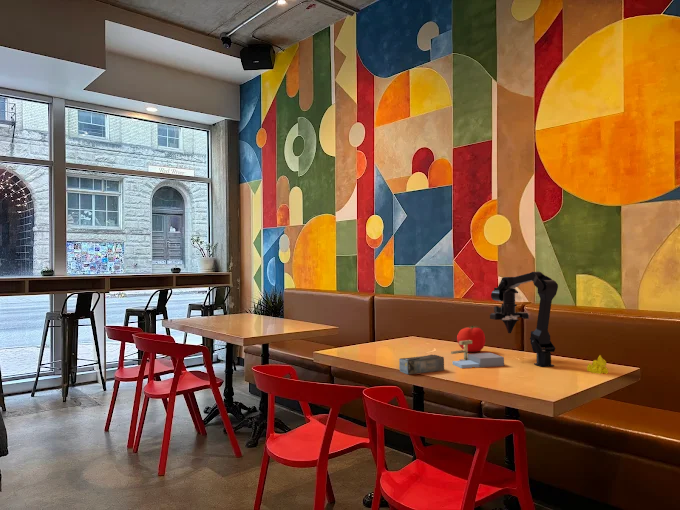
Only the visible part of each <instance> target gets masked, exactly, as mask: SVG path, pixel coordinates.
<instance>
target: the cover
mask: <svg viewBox="0 0 680 510" xmlns="http://www.w3.org/2000/svg"><path fill="white" fill-rule="evenodd" d="M452 365H453V366H455V367H457V368H460V369H471V368H472V367H475V368H481V367H480V365H479V363H476V362H473V361H471V360H465V361H461V360H452Z"/></svg>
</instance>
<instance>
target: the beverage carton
mask: <svg viewBox="0 0 680 510" xmlns="http://www.w3.org/2000/svg"><path fill="white" fill-rule="evenodd" d="M398 360H399V361H398V362H399V363H398V365H399V367H398V368H399V372H401V373H403V374H406V375H417V374H426V373H433V372H443V371H445V357H444V356H441V355H437V354H429V355H422V356H414V357H412V356H411V357H403V358H402V357H401V358H399V359H398Z"/></svg>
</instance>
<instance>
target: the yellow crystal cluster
mask: <svg viewBox="0 0 680 510" xmlns="http://www.w3.org/2000/svg"><path fill="white" fill-rule="evenodd" d="M586 372H590V373H592V374H599V375H601V374H606V375H607V374H609V369H608V368H607V361H606V360H605V359H604V358H603V357H602V355H601V354H599V355H598V357H597V359H594V360H592V363H590V362H589V363H588V364H587V366H586Z"/></svg>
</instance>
